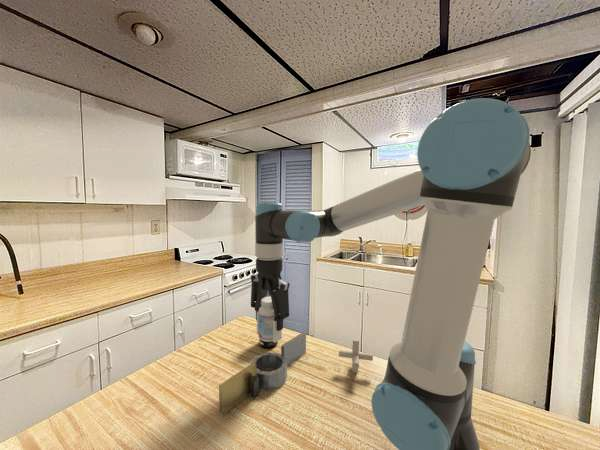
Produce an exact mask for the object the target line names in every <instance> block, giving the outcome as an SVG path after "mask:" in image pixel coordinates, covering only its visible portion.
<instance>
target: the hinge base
mask: <svg viewBox="0 0 600 450" xmlns="http://www.w3.org/2000/svg"><path fill="white" fill-rule="evenodd" d="M280 347H281V348H280V351H281V352H280V353H278V352H271V351H269V352H263V353H260V354H258V355H256V356H255V357H254V358H253V360H252V361H251V363H250V364H252V363H255V364H256V376H255V375H254V376H253V377H251V378H250V394H249V396H250V398H251V399H252V400H256V398H258V397H259V396H260V395H259V394H260V393H259V392H260V391H259V390H261V391H272V390H276V389H279V388H280V387H282V386H283V385H284V384H285V383H286V381H287V378H288V367H289V366H290V365H291V364H292V363H294V362H295V361H297V360H298V359H299V358H301V357H303V355H305V354H306V353H307V333H306V332H305V331H303V332H301V333H299V334H298V335H296V336H294V337H293V338H291V339H290V340H288V341H286V342H284V343H283V344H282V345H280ZM268 369H270V370H272V371H265V370H268Z"/></svg>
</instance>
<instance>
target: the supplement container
mask: <svg viewBox="0 0 600 450" xmlns="http://www.w3.org/2000/svg"><path fill="white" fill-rule="evenodd" d="M258 341H259V342H258V344H259V346H260V348H262V349H266V350H267V349H268V350H270V349H274V348H275V347H276V346H277V345H278V342H279V341H277V342H275V343H274V342H273V341H269V342H265V341H262V340H260V339H259V338H258Z"/></svg>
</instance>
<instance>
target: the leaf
mask: <svg viewBox="0 0 600 450" xmlns="http://www.w3.org/2000/svg"><path fill="white" fill-rule="evenodd" d="M254 375H255V376H256V364H255V363H252V364H251V363H250V364H249V365H247V366H245V367H244V368H243V369H242V370H240V371H239V372H237V373H235V374H234V375H232V376H231V377H230V378H228V379H226V380H225V381H223V382H222V383H221V384H219V385H218V404H219V405H218V406H219V408H218V410H219V411H218V412H219V414H220V415H221V416H224V415H226V413H228V412H229V411H230V410H232V409H233V408H234V407H235V406H236V405H238V404H239V403H240V402H241V401H243V400H244V399H246V398H247V397H248V396H250V378H251V377H253V376H254Z"/></svg>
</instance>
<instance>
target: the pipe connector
mask: <svg viewBox="0 0 600 450" xmlns="http://www.w3.org/2000/svg"><path fill="white" fill-rule="evenodd" d="M351 346H352V347H351V348H352V349H351V350H343V349H342V350H341V349H339V350H338V357H339V358H346V359H347V358H348V359H352V360H351V361H352V362H351V366H352V367H351V372H352V373H354V374H357V373H359V368H360V360H362V361H363V360H364V361H371V362H373V360H374V359H373V356H374V355H373V353H366V352H359V351H360V349H359V348H360V347H359V346H360V339H359V338H357V337H354V338H352V345H351Z"/></svg>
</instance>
